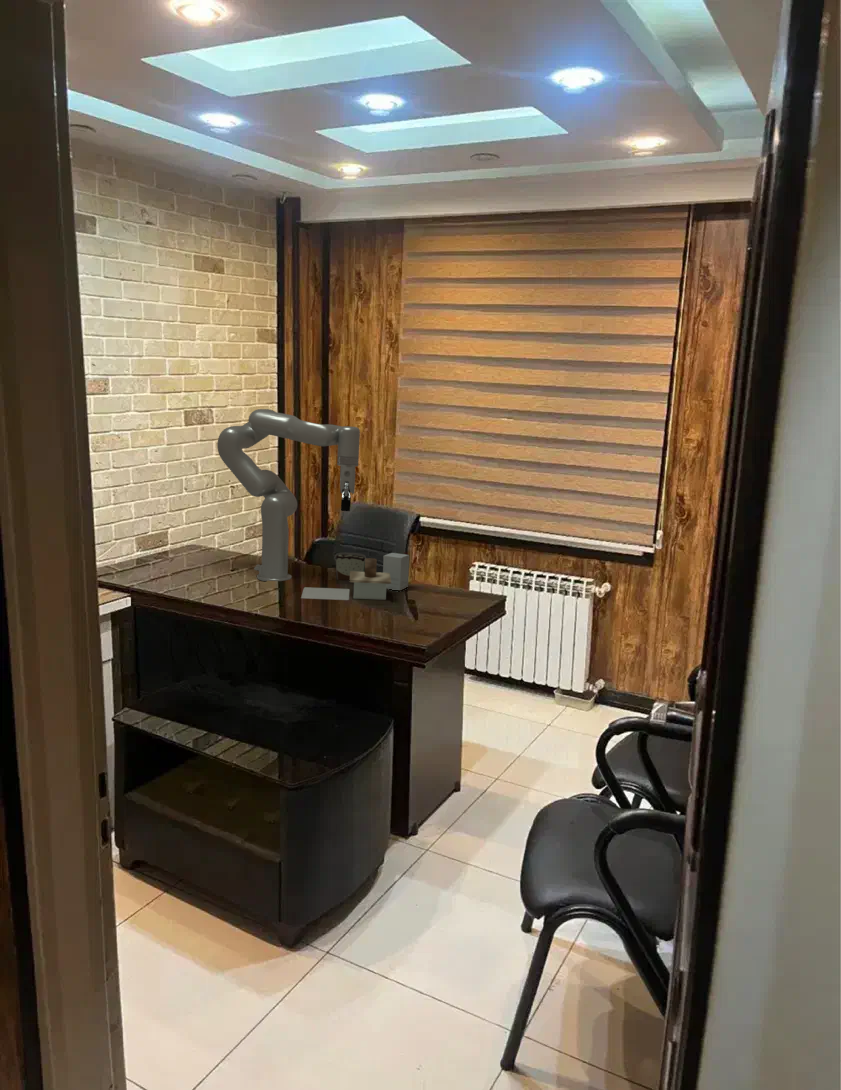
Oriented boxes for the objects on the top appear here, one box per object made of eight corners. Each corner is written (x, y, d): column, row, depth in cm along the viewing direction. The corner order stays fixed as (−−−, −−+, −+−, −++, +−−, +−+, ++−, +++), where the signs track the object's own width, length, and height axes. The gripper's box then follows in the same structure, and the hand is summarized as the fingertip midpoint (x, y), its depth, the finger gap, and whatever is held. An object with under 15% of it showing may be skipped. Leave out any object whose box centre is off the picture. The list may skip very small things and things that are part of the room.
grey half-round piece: (368, 579, 311) (369, 553, 309) (365, 583, 305) (366, 556, 303) (336, 577, 312) (337, 551, 310) (333, 580, 306) (334, 554, 304)
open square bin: (353, 600, 278) (354, 581, 277) (353, 592, 289) (354, 574, 288) (385, 601, 279) (386, 582, 278) (384, 593, 290) (385, 575, 288)
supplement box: (408, 588, 300) (410, 554, 298) (399, 592, 293) (401, 557, 291) (390, 585, 303) (392, 552, 301) (381, 589, 296) (383, 555, 294)
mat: (300, 599, 274) (301, 598, 274) (304, 588, 290) (304, 587, 290) (348, 601, 275) (348, 599, 275) (349, 590, 291) (349, 589, 291)
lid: (349, 582, 275) (350, 562, 274) (350, 573, 289) (350, 554, 288) (391, 583, 276) (392, 564, 275) (389, 575, 290) (390, 556, 289)
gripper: (358, 464, 282) (355, 513, 285) (358, 460, 299) (356, 506, 302) (336, 462, 281) (334, 511, 284) (338, 459, 298) (335, 505, 301)
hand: (345, 509), depth 293 cm, fingers open, 9 cm apart
